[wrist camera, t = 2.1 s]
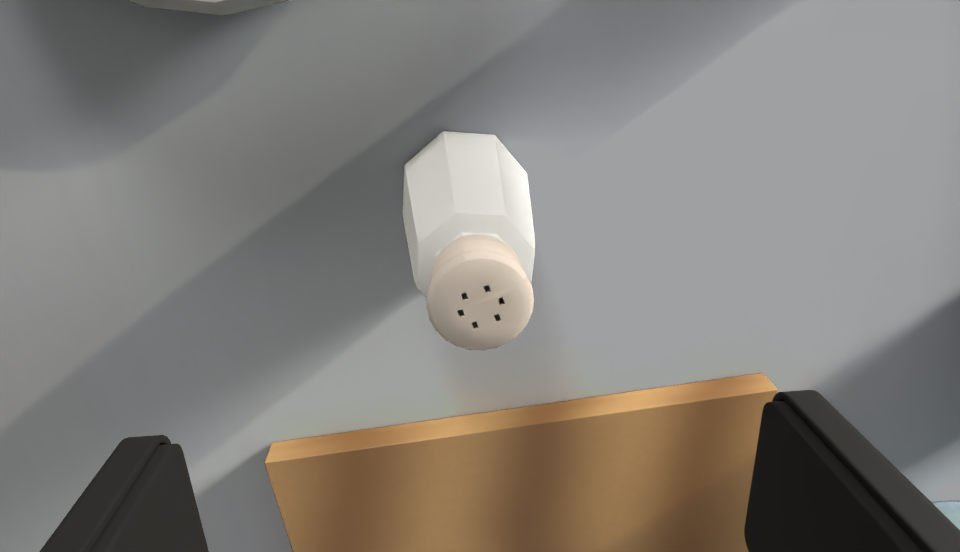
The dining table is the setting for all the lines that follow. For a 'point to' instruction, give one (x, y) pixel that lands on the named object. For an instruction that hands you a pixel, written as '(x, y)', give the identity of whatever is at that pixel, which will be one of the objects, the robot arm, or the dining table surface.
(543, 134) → the dining table surface
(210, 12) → the frying pan
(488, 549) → the cutting board
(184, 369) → the dining table surface
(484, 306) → the pepper shaker
